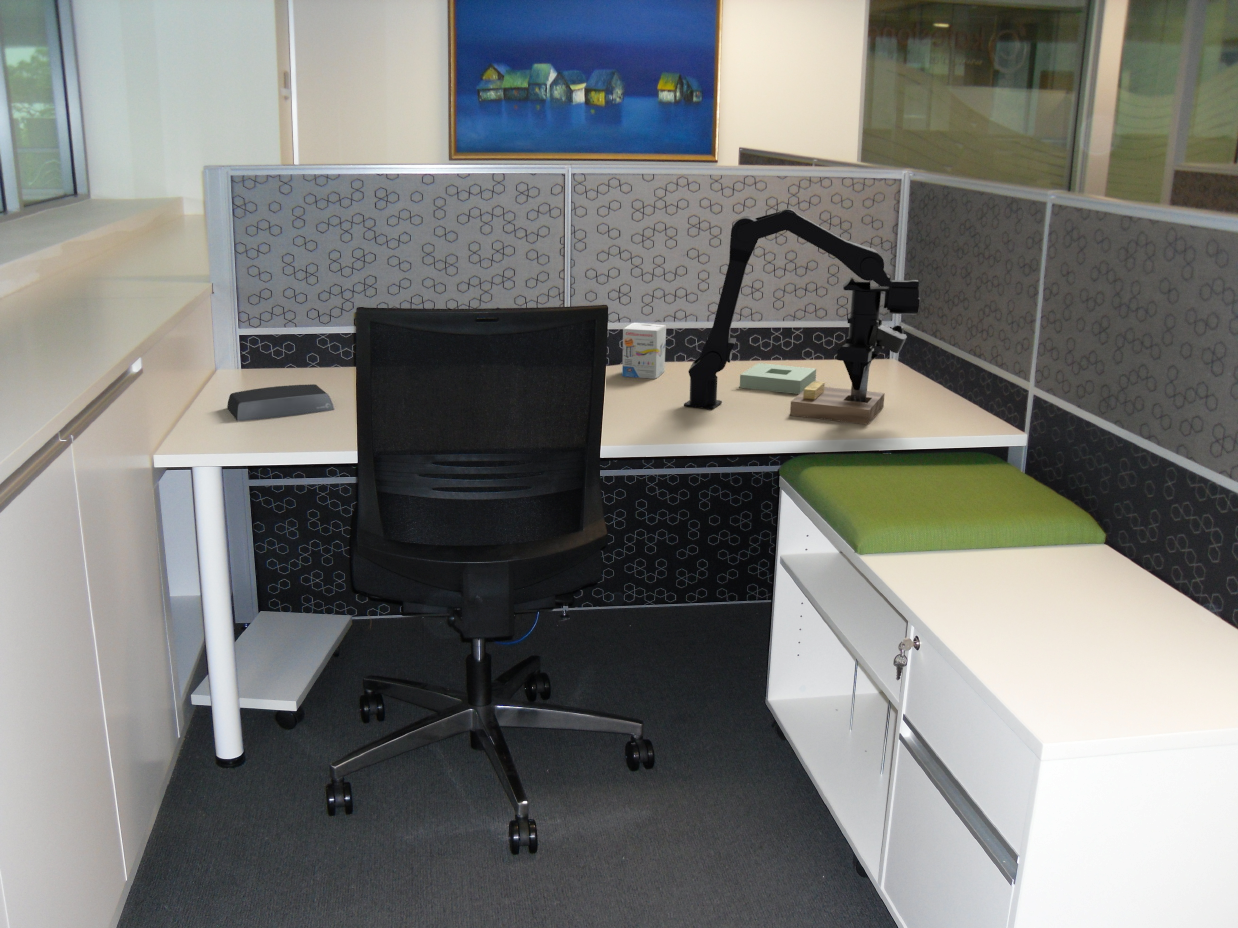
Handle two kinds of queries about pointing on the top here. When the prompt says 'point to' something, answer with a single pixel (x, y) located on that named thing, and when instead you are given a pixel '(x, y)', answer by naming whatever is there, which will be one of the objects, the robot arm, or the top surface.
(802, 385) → the green slotted base
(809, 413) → the socket block
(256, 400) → the external hard drive
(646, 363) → the ink box
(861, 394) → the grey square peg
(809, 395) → the yellow wooden bar
